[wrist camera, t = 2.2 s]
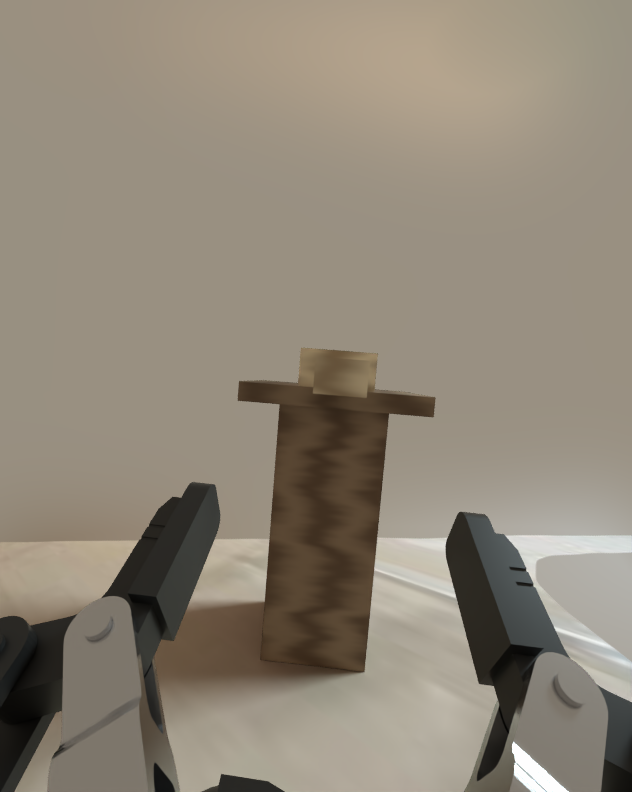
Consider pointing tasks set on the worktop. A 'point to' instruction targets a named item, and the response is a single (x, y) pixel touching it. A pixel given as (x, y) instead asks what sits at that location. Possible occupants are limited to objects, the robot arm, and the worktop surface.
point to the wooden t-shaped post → (325, 519)
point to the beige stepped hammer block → (338, 372)
